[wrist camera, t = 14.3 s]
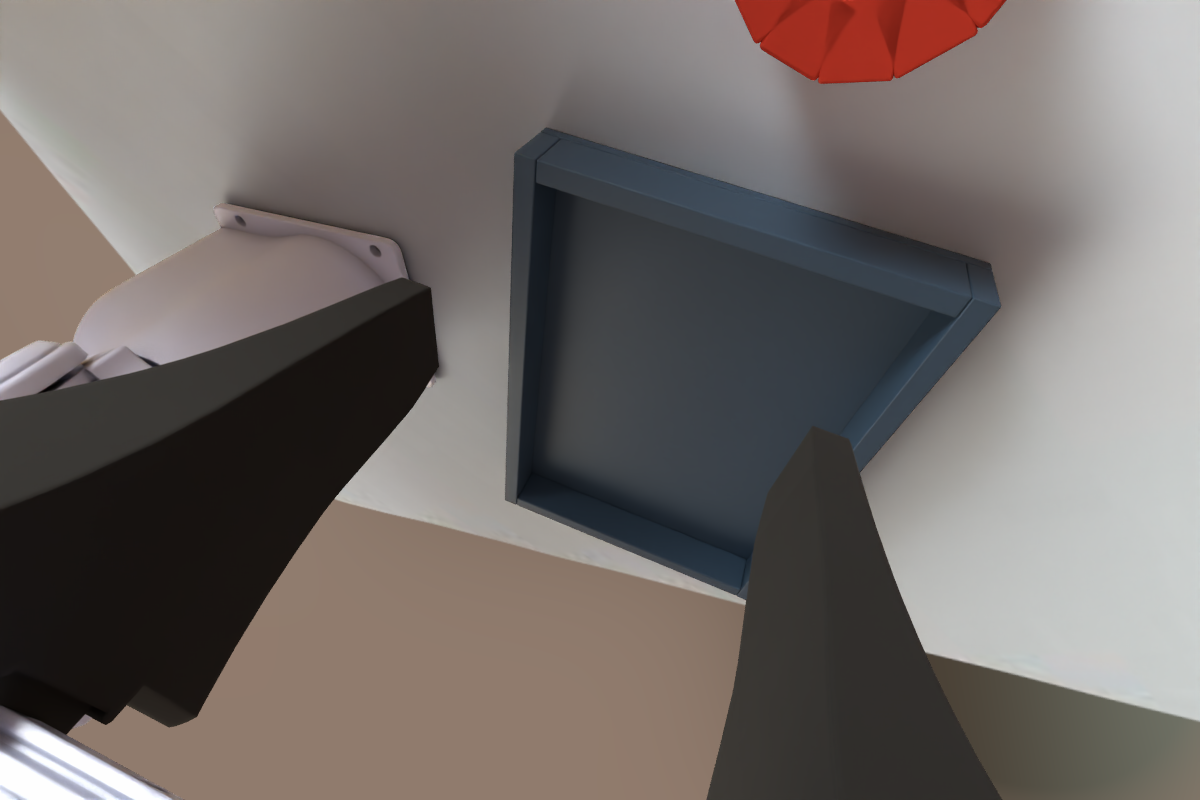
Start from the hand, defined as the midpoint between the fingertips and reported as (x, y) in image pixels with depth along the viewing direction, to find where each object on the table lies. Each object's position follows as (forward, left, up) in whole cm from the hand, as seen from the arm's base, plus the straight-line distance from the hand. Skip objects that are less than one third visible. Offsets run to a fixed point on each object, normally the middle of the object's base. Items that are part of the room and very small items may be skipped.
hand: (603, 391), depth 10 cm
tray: (0, -9, -9) cm, 13 cm away
